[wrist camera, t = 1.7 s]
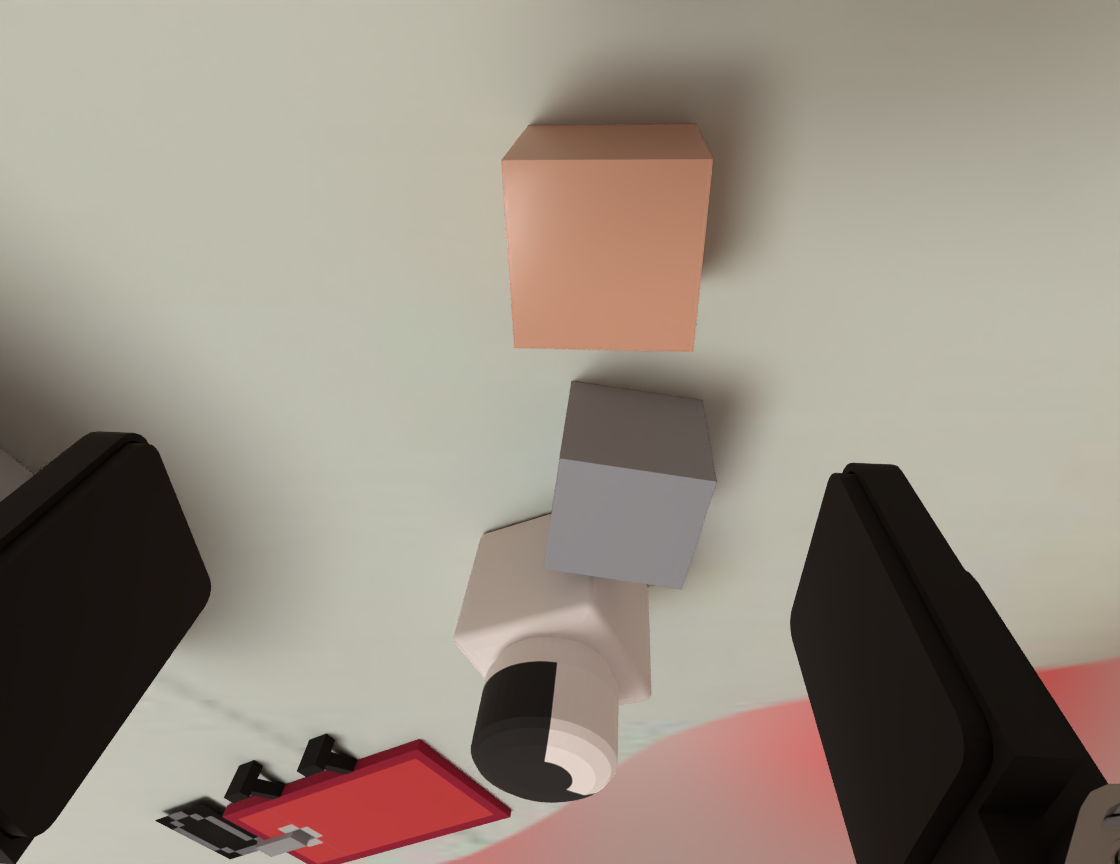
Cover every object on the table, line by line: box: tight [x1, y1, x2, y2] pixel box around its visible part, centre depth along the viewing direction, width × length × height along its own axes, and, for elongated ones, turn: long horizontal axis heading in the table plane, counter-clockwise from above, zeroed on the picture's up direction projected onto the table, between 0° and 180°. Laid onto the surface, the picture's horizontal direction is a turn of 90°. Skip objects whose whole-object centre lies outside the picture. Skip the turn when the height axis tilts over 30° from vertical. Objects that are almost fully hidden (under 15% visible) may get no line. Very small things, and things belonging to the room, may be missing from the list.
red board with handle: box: [155, 734, 511, 864], centre depth 54 cm, size 30×3×15 cm
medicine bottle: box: [453, 514, 651, 803], centre depth 31 cm, size 7×7×12 cm
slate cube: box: [543, 381, 717, 589], centre depth 29 cm, size 6×6×6 cm
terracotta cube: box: [501, 124, 713, 352], centre depth 22 cm, size 6×6×6 cm
